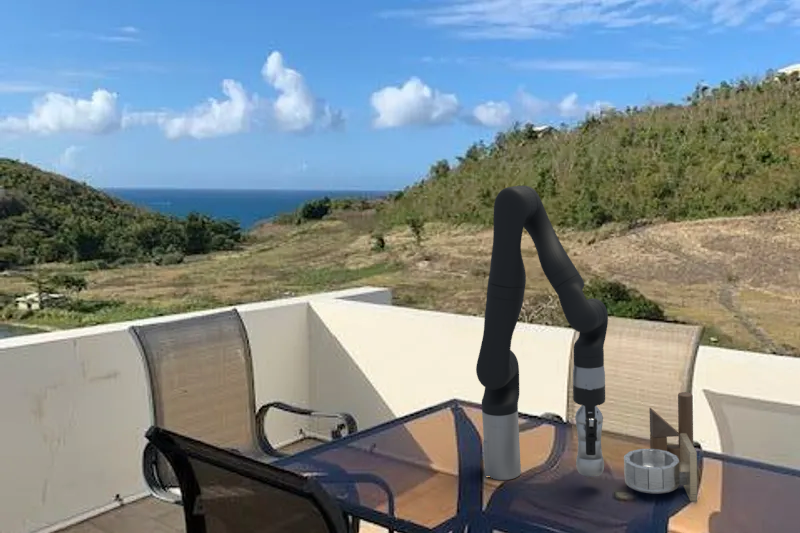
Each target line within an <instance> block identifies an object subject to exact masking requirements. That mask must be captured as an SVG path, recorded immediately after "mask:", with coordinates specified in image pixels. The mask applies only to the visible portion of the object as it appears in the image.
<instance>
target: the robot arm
mask: <svg viewBox="0 0 800 533" xmlns="http://www.w3.org/2000/svg"><path fill="white" fill-rule="evenodd" d="M493 204H494V205H493V235H492V236H493V237H492V238H493V239H492V249H491V258H490V265H489V275H488V281H487V290H486V301H485V311H484V324H483V326H484V327H483V335H482V340H481V343H480V344H481V345H480V349H479V353H478V356H477V360H476V361H477V362H476V367H475V368H476V369H475V370H476V371H475V372H476V373H475V374H476V377H477V379H478V381H479V383H480V384H481V385H482V386H483V387H484V392H483V396H482V400H481V414H482V416H481V417H482V433H483V437H482V438H483V441H482V447H483V448H482V449H483V467H484V468H483V469H484V477H485V476H490V477H491V478H490V479H492V478H493V480H499V481H508V480H512V479H515V478H518V477H519V476H520V475H521V474H522V469H521V468H522V467H521V466H522V464H521V449H520V448H521V447H520V424H519V398H520V366H519V361H518V358H517V356H516V354H515V353H514V351H512V350H511V346H512V339H513V335H514V331H515V329H516V326H517V323H518V320H519V318H520V315H521V311H522V308H523V304H524V299H525V293H526V292H525V290H526V282H527V275H526V274H527V273H526V269H525V265H524V259H523V256H522V255H523V254H522V248H521V246H522V237H523V231H524V230H526V232H527V234H528V235H529V236H530V238H531V240H532V242H533V244H534V247H535V250H536V253H537V257H538V260H539V263H540V267H541V269H542V272H543V274H544V275H545V277H546V279H547V280H548V282H549V283H550V284H549V285H551V286H552V289H553V290H554V292H555V293H556V294H557V296H558V299H559V303H560V306H561V309H562V312H563V314H564V316H565V319H566V321H567V323H568V324H569V325H570V327H571V328H572V329H573V330H575V331H576V332H578V338H577V339H576V341H575V342H574V344H573V369H572V398H573V402H574V403H575V404H577V405H579V406H582V405H584V406H585V419H586V420H585V422H586V426H585V424H584V423H583V430H585V440H586V454H587V455H595V454H596V447H595V441H597V429H598V422H597V418H595V406H597V407H598V406H600V405H604V403H605V402H606V371H605V360H604V359H605V357H604V356H605V355H604V353H605V351H604V346H605V345H604V344H605V341H606V336H607V331H608V324H609V314H608V309H607V307H606V305H605V304H604V302H602V301H601V300H600V299H598V298H589V299H587V298H586V296H585V293H584V291H583V288H584V287H585V282H584V279H583V277H582V276H581V274H580V272H579V271H578V269H577V267H575V265H574V263H573V261H572V260H571V257H569V255H568V253H567V252H566V249H565V248H564V247H563V245H562V243H561V241H560V239H559V237H558V235H557V233H556V232H555V229H554V226H553V225H552V222H551V221H550V218H549V217H548V214H547V211H546V209H545V206H544V204H543V202H542V199H541V198H540V196H539V194H538V192H537V191H536V190H535V189H534V188H532V187H531V186H528V185H515V186H508V187H505V188H503V189H501V190H500V191H499V192H498V194H497V195H496V197H495V199H494V203H493ZM581 413H582V411H581ZM597 415H598V411H597ZM588 433H594V435H588Z"/></svg>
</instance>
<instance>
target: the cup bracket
mask: <svg viewBox="0 0 800 533" xmlns="http://www.w3.org/2000/svg"><path fill="white" fill-rule="evenodd" d="M697 456H698V452H697V450H696V448H695V447H694V444H693V445H692V443H691V441H690V439H689V437H688V436H687V434H686V433H680V462H679V459H678V457H677V456H676V455H674V454H672V453H670V452H667V451H663V450H658V449H650V448H638V449H634V450H630V451H628V452H627V453H626V454H625V455H624V456H623V471H624V472H623V473H624V474H623V475H624V482H625V485H626V486H628V488H630V489H632V490H634V491H637V492H640V493H644V494H645V493H646V494H652V495H653V494H654V495H657V494H666V493H671V492H674V491H675V490H677V489H678V488H679V486H683V488H684V490H685V493H686V494H687V496H688V499H689V501H690V502H693V503H694V502H695V503H696V502H698V457H697Z"/></svg>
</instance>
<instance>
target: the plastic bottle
mask: <svg viewBox="0 0 800 533" xmlns="http://www.w3.org/2000/svg"><path fill="white" fill-rule="evenodd" d="M581 411H582V413H581ZM597 411H598V415H597ZM574 418H575V425H576V432H577V442H578V444H577V455H576V461H575V466H576V471H577V472H578V473H579V474H580V475H581V476H584V477H589V478H595V477H599V476H601V475H602V473H603V472H604V471H605V470H604V468H605V462H604V461H605V460H604V457H603V451H602V450H603V449H602V430H603V424H604V417H603V413H602V411H601V410H600V408H599V407H598V405H597V406H595V418H597V422H598V429H597V441H595V447H596V454H595V455H587V454H586V440H585V430H583V423H584V424H585V426H586V422H585V420H586V419H585V406H584V405H580V407H579V408H578V409H577V411H576V412H575V416H574ZM588 435H594V433H588Z"/></svg>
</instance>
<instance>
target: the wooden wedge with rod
mask: <svg viewBox="0 0 800 533" xmlns="http://www.w3.org/2000/svg"><path fill="white" fill-rule="evenodd" d="M693 396H694V395H693V393H691V392H687V391H681V392H678V394H677V415H678V416H677V417H678V418H677V422H678V426H677V427H678V430H677V429H676V428H674V427H673V426H672V425H671V424H670V423H669V422H668V421H667V420H665V419H664V418H663V417H662V416H661V415H660V414H658V413H657V412H656V411H655V410H654V409H653V408H652V407H649V442H650V443H649V444H650V447H649V449H658V450H663V451H667V452H670V453H672V454H674V455H676V456H677V457H678V459H679V463H680V433H686V434H687V436H688V437H689V439H690V441H691V443H692V445H693V446H694V405H693V404H694V401H693V399H694V398H693ZM669 437H670V438H671V437H678V444H668V438H669Z"/></svg>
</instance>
